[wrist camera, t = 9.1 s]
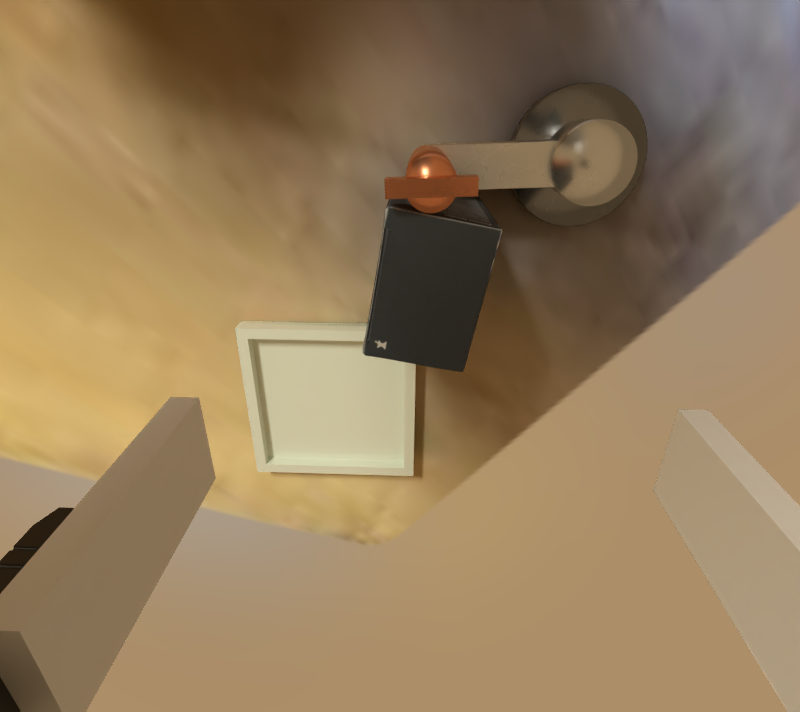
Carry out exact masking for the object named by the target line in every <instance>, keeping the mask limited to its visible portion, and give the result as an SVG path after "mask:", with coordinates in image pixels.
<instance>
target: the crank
mask: <svg viewBox="0 0 800 712" xmlns="http://www.w3.org/2000/svg"><path fill="white" fill-rule="evenodd" d="M637 158H638V153H637V146H636V143H635V140H634V138H633V136H632V134H631V133H630V132H629V131H628V130H627V128H625V127H624V126H623V125H621V124H619V123H617V122H615V121H611V120H604V119H585V118H584V119H577V120H574V121H571V122H569V123H567V124H565V125H564V126H562V127H561V128H559V129H558V130H557V131H556V132H555V133H554V134H553V136H552V137H551V138H550V139H547V140H520V141H494V142H467V143H440V144H425V145H422V146H420V147H418V148H417V149H416V150H415V151H414V152H413V153H412V155H411V157H410V159H409V163H408V167H407V172H406V176H405V177H386V178H385V199H408V201H409V202H410V204H411V205H412V206H413V207H415V208H416V209H417V210H419V211H421V212H425V213H436V212H440V211H442V210H444V209H446V208H447V207H448V206H449V205H450V204H451V203H452V202H453V200H454V199H455V197H471V196H478V189H508V188H539V187H551V188H552V189H553V190H554V191H555V192H556V193H558V194H560V195H561V196H563V197H564V198H566V199H568V200H569V201H571V202H573V203H575V204H578V205H582V206H596V205H601V204H604V203H606V202H608V201H610V200H612V199H613V198H615V197H616V196H618V195H619V194H620V193H621V192H622V191H623V190H624V189H625V188H626V186H627V185H628V184H629V182H630V181H631V179H632V177H633V175H634V172H635V169H636V165H637Z"/></svg>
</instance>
